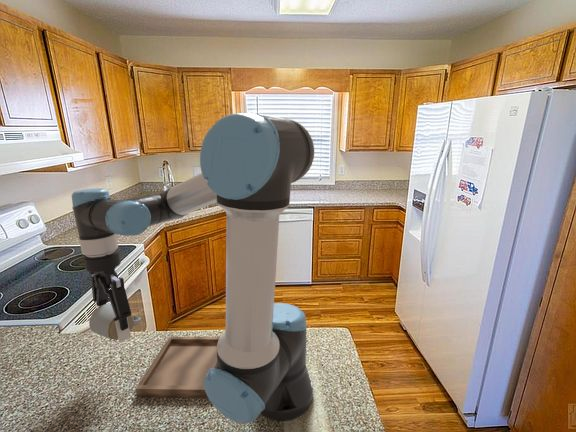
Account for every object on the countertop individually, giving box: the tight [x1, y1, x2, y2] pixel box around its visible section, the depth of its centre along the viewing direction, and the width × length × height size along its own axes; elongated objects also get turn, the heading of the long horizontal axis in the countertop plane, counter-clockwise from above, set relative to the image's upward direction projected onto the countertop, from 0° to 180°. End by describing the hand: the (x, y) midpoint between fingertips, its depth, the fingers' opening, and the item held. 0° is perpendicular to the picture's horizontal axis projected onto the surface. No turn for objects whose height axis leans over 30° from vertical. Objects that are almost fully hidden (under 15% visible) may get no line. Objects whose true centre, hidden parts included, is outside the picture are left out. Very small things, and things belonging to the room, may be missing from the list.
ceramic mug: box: [88, 303, 141, 341], centre depth 78 cm, size 11×8×8 cm
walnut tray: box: [135, 336, 221, 399], centre depth 81 cm, size 20×20×2 cm
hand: (116, 332), depth 77 cm, fingers closed on ceramic mug, 9 cm apart
